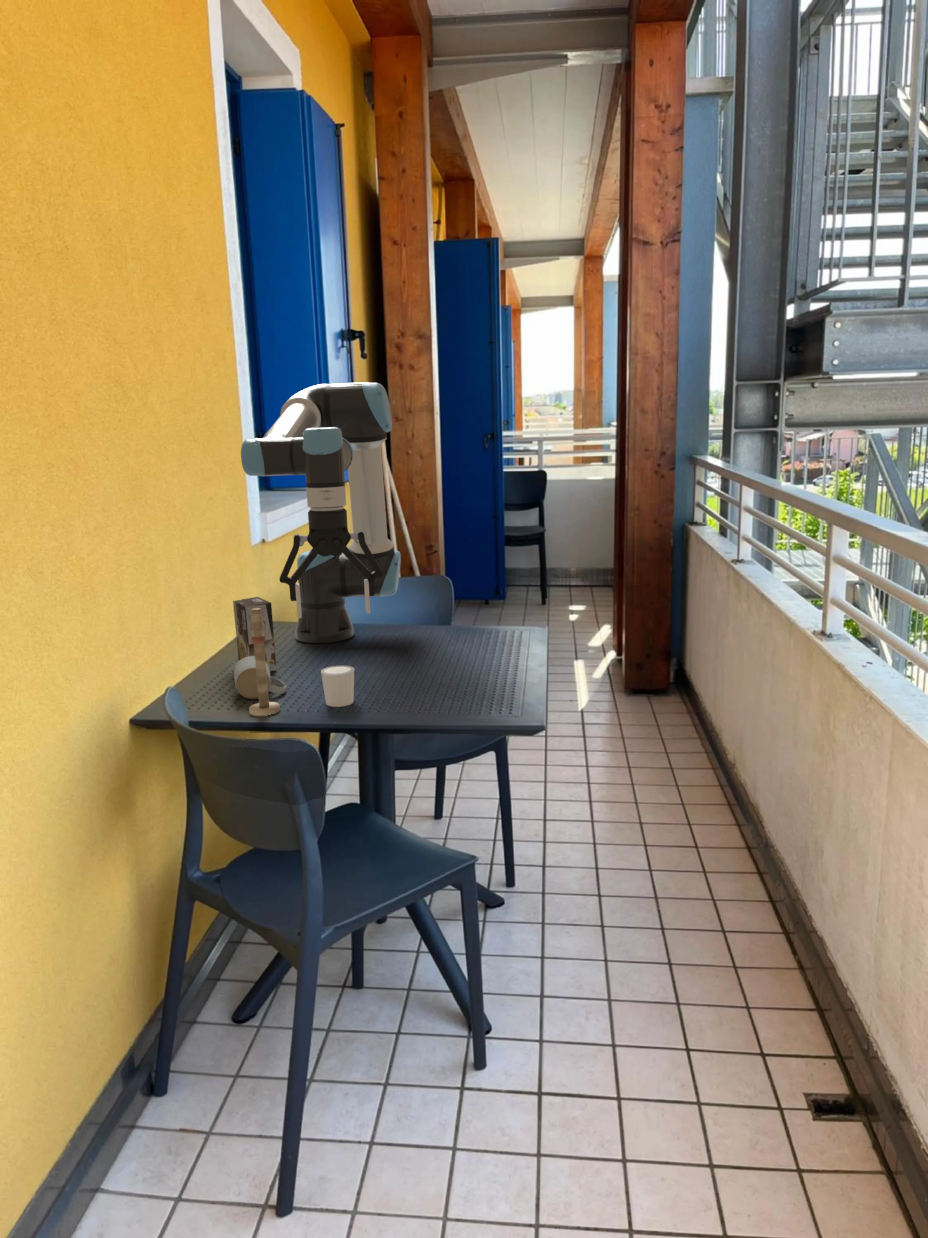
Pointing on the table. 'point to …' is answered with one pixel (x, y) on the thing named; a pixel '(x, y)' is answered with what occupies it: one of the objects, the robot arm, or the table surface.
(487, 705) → the table surface
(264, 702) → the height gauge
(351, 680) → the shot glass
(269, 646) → the coffee box
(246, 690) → the ceramic mug
